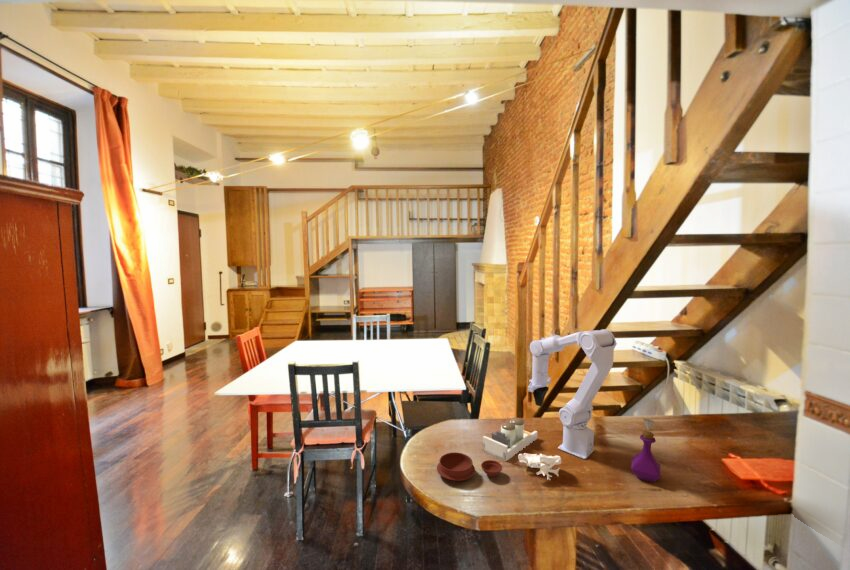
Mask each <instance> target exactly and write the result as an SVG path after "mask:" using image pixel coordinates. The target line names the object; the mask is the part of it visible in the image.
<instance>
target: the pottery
mask: <svg viewBox="0 0 850 570" xmlns="http://www.w3.org/2000/svg"><path fill="white" fill-rule="evenodd" d="M480 466H481V469H482V470H483V472H484V473H485V475H486V476H487V477H488V478H490V479H495V478H496V477H497V476H498V475H499V474H500V473H501V472H502V470H503V465H502V464H501V463H500V462H499V461H496V460H491V459H489V460H484V461H482V463H481V464H480ZM436 470H437V473H438V474H439V475H440V477H442V478H443V479H447V480H448V481H449V480H450V481H456V482H457V481H458V482H459V481H460V482H462V481H466V480H469V479H470V478H472V477H473V476H474V475H475V473H476V467H475V465H474V462H473V459H472V458H471V457H470V456H469V455H467V454H465V453H462V452H448V453H445V454H443V455H441V457H440V458H439V462H438V464H437V466H436Z"/></svg>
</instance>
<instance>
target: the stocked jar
mask: <svg viewBox="0 0 850 570" xmlns="http://www.w3.org/2000/svg"><path fill="white" fill-rule="evenodd" d="M500 432H502V433H505V437H507V438H509V439H510V447H512V446H513V445H515V438H516V427H515V425H514V424H513V423H510V421H509V422H502V423H501V425H500Z"/></svg>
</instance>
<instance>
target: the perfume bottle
mask: <svg viewBox="0 0 850 570" xmlns="http://www.w3.org/2000/svg"><path fill="white" fill-rule="evenodd" d="M643 423H644V426H645V427H646V428H647V430H645V429H644V430H642V434H640V436H639V439H640V440H642V442H643V447H642V449H641V450H640V451H639V452H638V453H637V454H635V455H634V456H632V459H631V471H632V472H633V474H634V475H635V477H636V478H637V479H639V480H642V481H647V482H649V481H650V483H655V482H656V481H657V480H659V479H660V478H661V476H662V475H661V464H660V462H659V461H658V460H657V459H656V458H655V456H654V455H653V452H652V444H654V443H656V438H655V437H654V433H653V432H651V431H650V428H652V427H653V426H654V424H655V420H654V419H649V418H643Z"/></svg>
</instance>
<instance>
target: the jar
mask: <svg viewBox="0 0 850 570" xmlns="http://www.w3.org/2000/svg"><path fill="white" fill-rule="evenodd" d="M509 423H513V424H514V425H515V427H516V438H515V443H518V442H519V441H520V440H522V439H523V436H524V430H525V422H524V420H523V419H522V418H519V417H512V418H510V421H509Z"/></svg>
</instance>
